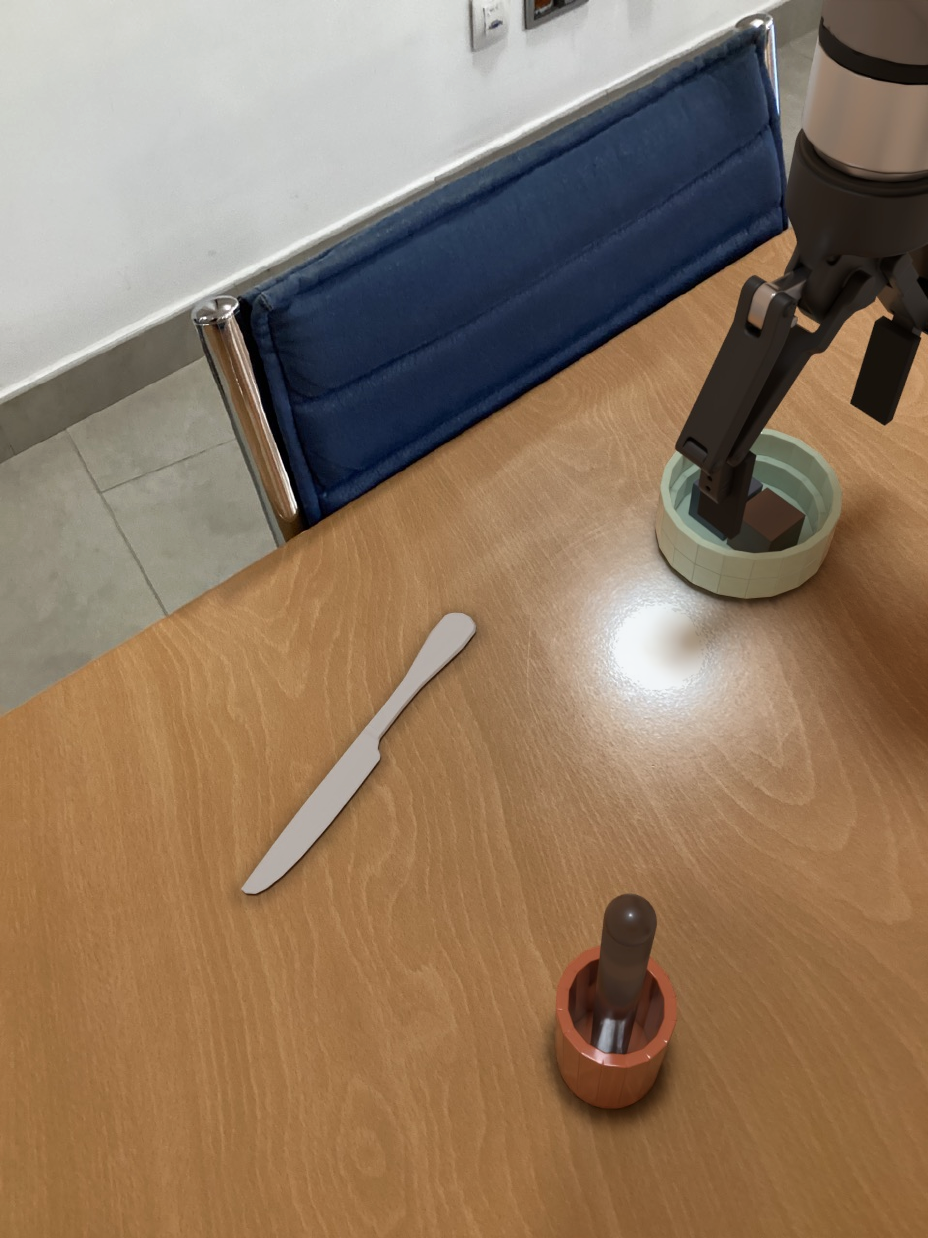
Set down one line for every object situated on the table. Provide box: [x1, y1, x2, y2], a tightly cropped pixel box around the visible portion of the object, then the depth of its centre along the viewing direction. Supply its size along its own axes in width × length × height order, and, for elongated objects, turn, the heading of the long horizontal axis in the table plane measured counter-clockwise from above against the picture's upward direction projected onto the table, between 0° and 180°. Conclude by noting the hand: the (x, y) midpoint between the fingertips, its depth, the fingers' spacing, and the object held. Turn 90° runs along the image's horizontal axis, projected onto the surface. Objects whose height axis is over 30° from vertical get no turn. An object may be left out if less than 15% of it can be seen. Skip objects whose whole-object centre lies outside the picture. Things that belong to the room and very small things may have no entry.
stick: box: [590, 892, 658, 1054], centre depth 48 cm, size 2×2×22 cm
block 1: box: [688, 477, 763, 540], centre depth 76 cm, size 4×4×4 cm
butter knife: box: [240, 612, 477, 895], centre depth 69 cm, size 1×24×3 cm
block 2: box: [726, 487, 806, 553], centre depth 75 cm, size 4×4×4 cm
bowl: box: [654, 427, 843, 600], centre depth 75 cm, size 12×12×5 cm
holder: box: [555, 944, 678, 1110], centre depth 54 cm, size 6×6×10 cm
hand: (796, 466), depth 64 cm, fingers open, 13 cm apart
